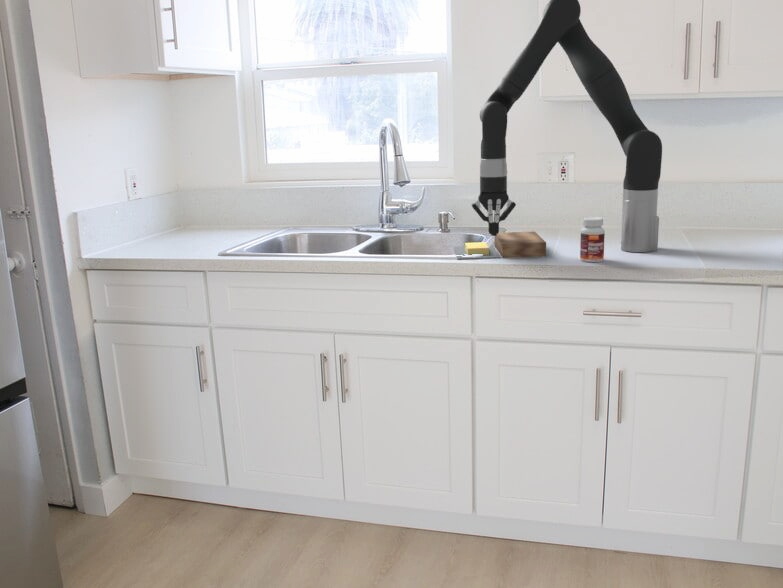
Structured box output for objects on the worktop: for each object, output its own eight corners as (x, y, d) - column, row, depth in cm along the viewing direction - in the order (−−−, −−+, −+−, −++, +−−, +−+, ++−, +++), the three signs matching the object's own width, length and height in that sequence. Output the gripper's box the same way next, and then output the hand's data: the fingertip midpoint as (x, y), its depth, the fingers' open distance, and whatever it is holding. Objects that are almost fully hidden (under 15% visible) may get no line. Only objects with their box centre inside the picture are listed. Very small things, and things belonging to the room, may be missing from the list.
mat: (492, 246, 225) (492, 245, 225) (500, 257, 208) (500, 256, 208) (453, 247, 225) (453, 246, 225) (457, 259, 208) (457, 258, 208)
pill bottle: (588, 263, 197) (590, 221, 194) (575, 259, 202) (576, 218, 200) (608, 261, 199) (609, 218, 196) (594, 257, 204) (595, 216, 202)
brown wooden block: (534, 244, 225) (534, 231, 224) (545, 256, 208) (546, 242, 207) (494, 245, 225) (494, 232, 224) (502, 257, 208) (502, 243, 207)
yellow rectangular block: (464, 242, 219) (465, 249, 220) (467, 248, 211) (467, 255, 211) (485, 242, 219) (485, 248, 220) (488, 247, 211) (489, 254, 211)
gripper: (514, 172, 214) (514, 232, 218) (468, 174, 214) (469, 234, 218) (519, 175, 206) (518, 236, 211) (471, 176, 206) (471, 238, 211)
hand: (493, 235), depth 214 cm, fingers closed
